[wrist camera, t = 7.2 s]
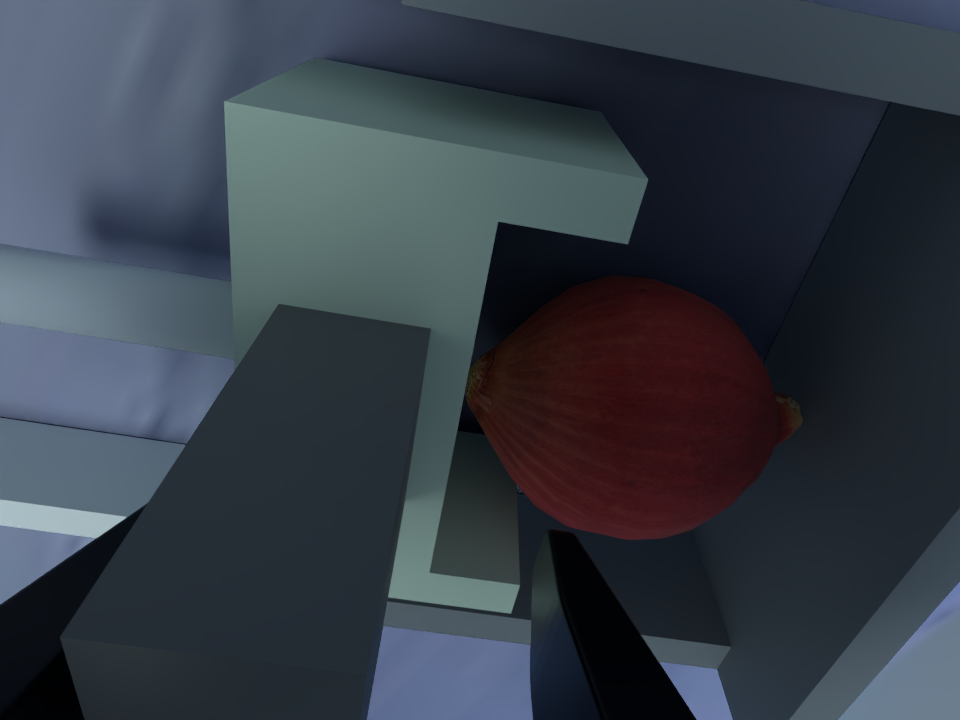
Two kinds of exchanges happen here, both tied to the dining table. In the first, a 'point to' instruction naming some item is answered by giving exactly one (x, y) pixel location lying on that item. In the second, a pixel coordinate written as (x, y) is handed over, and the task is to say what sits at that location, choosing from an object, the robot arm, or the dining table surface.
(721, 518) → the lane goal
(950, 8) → the dining table surface
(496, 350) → the onion
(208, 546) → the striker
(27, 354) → the dining table surface
